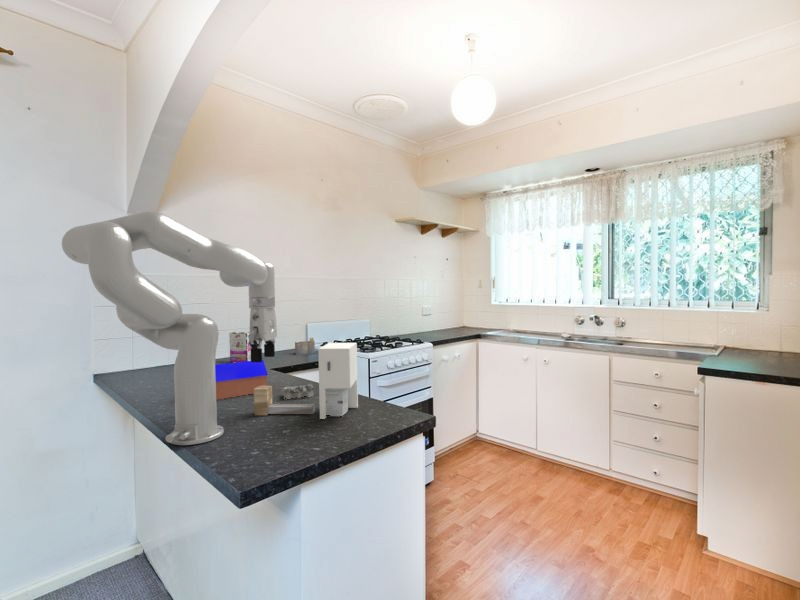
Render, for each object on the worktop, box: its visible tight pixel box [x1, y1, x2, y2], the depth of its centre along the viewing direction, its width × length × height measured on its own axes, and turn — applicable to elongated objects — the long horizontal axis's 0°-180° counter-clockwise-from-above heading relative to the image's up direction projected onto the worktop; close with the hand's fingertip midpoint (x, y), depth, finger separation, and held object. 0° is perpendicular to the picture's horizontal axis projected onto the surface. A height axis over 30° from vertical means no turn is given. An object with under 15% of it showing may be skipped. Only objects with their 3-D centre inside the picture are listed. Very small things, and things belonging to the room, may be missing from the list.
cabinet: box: [318, 342, 359, 420], centre depth 121 cm, size 14×9×20 cm, turn 177°
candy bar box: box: [229, 331, 251, 363], centre depth 215 cm, size 11×5×16 cm, turn 73°
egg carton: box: [282, 383, 315, 400], centre depth 142 cm, size 11×8×4 cm
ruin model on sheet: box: [294, 337, 316, 356], centre depth 243 cm, size 11×3×10 cm, turn 118°
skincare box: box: [326, 388, 349, 417], centre depth 121 cm, size 6×6×7 cm
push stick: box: [253, 385, 316, 416], centre depth 122 cm, size 4×18×8 cm, turn 87°
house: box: [215, 359, 268, 401], centre depth 148 cm, size 12×20×12 cm, turn 125°
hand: (263, 359), depth 122 cm, fingers open, 9 cm apart
